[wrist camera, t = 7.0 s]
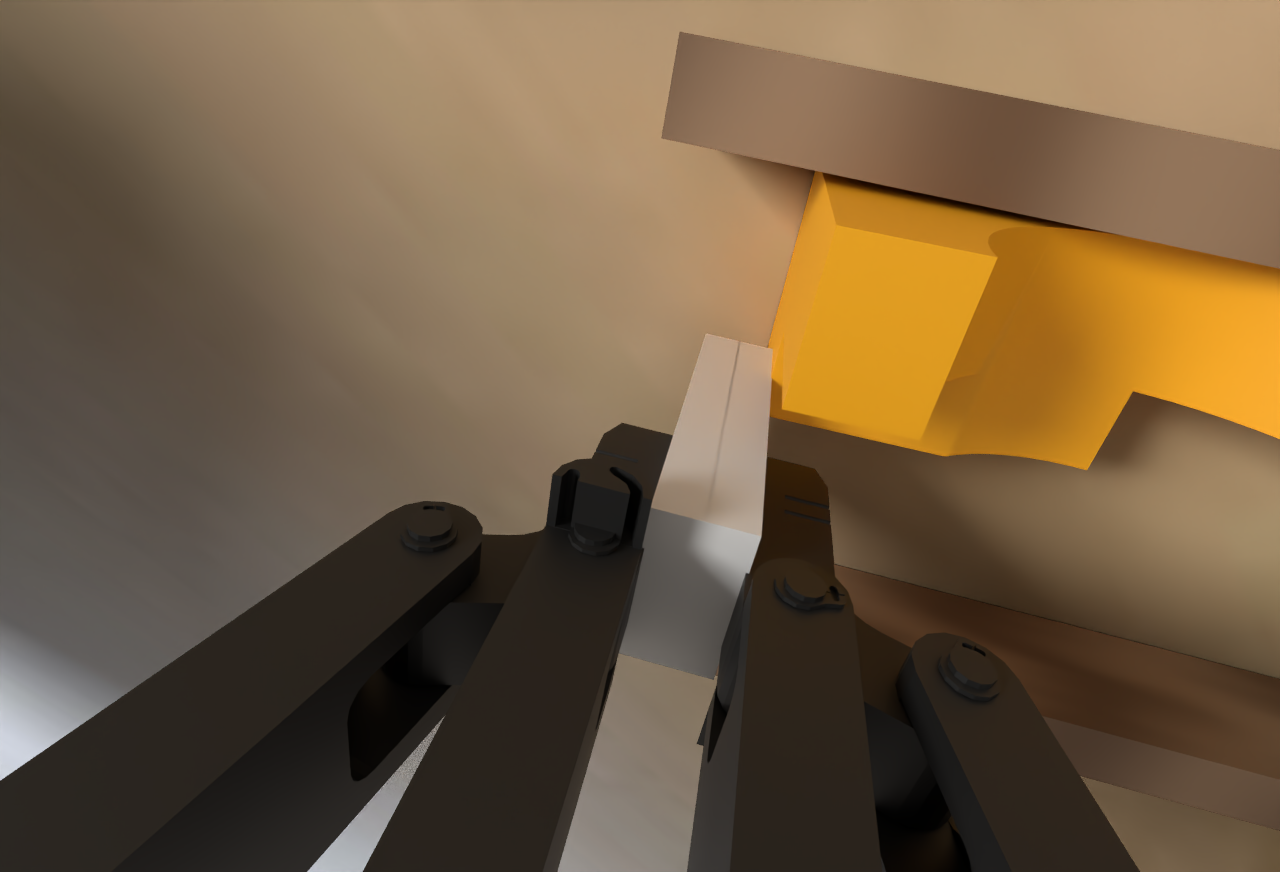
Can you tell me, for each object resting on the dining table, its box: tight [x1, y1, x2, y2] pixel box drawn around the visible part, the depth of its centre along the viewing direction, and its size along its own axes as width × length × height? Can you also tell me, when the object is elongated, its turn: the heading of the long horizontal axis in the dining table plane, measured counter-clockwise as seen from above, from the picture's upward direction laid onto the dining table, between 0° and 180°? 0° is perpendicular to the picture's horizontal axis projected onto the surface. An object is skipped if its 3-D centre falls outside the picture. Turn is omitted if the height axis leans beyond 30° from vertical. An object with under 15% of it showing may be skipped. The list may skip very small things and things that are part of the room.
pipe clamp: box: [768, 171, 1280, 470], centre depth 12 cm, size 12×4×6 cm, turn 80°
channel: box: [662, 32, 1280, 831], centre depth 13 cm, size 24×13×6 cm, turn 79°
